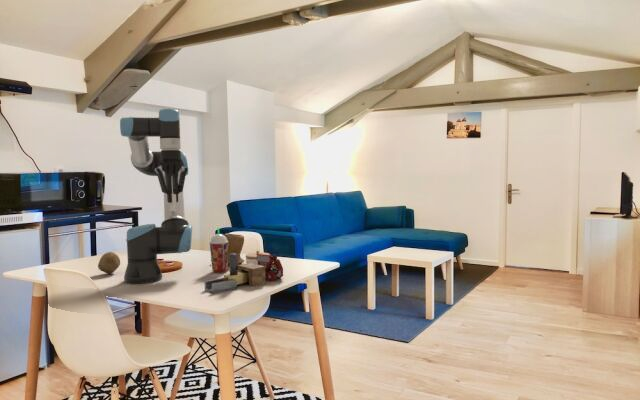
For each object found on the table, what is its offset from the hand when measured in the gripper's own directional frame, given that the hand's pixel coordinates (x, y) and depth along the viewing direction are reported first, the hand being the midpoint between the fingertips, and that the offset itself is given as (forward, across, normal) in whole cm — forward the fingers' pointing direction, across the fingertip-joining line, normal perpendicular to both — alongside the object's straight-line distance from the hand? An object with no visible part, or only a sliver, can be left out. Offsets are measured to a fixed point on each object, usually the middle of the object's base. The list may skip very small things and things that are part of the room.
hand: (173, 210), depth 180 cm
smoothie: (+31, +27, +14) cm, 43 cm away
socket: (+30, +25, -15) cm, 42 cm away
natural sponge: (+31, -10, +48) cm, 58 cm away
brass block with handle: (+29, +20, -15) cm, 38 cm away
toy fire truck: (+31, +34, -15) cm, 48 cm away
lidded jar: (+31, +39, +1) cm, 50 cm away
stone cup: (+31, +40, +27) cm, 57 cm away
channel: (+30, +11, -15) cm, 36 cm away
